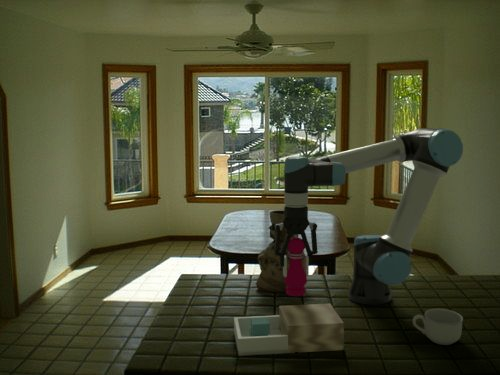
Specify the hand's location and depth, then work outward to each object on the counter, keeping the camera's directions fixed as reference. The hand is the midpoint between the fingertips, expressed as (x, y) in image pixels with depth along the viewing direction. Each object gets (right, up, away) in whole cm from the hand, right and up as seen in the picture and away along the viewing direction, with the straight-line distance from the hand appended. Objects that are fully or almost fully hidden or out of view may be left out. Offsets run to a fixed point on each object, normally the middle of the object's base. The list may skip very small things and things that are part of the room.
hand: (295, 275), depth 178 cm
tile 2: (-12, -13, -17) cm, 25 cm away
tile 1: (-12, -13, -17) cm, 25 cm away
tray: (-12, -17, -16) cm, 26 cm away
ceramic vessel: (-3, -11, +33) cm, 34 cm away
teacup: (+40, -17, -16) cm, 46 cm away
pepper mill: (0, -6, +1) cm, 6 cm away
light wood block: (+3, -17, -15) cm, 22 cm away
